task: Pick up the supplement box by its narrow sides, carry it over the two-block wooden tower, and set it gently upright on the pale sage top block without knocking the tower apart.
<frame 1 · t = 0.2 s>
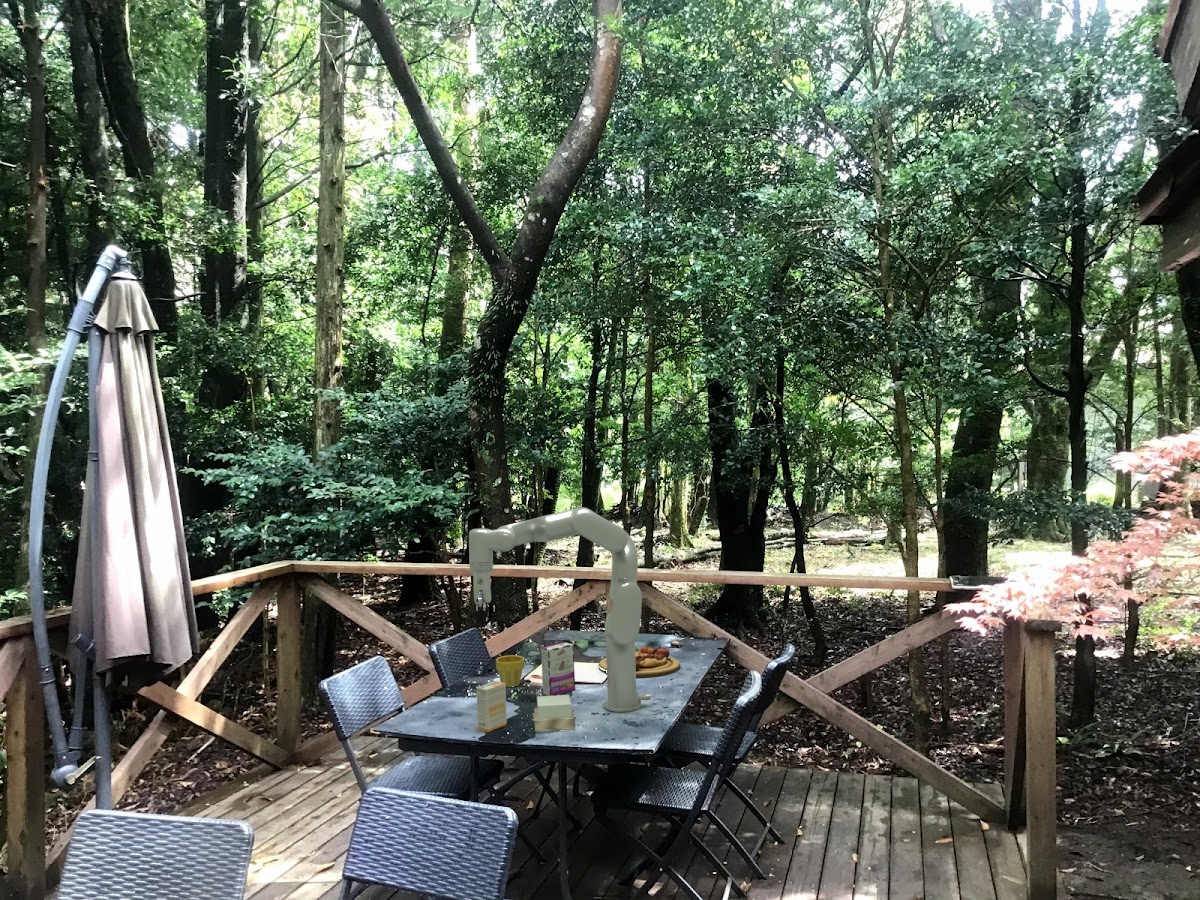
hand: (482, 620, 250), 31 cm above the table, tool pointing down, fingers open, 9 cm apart
supplement box: (492, 728, 238), on the table
wooden plate with food: (639, 668, 304), on the table
plant pot: (510, 686, 283), on the table
tower base block: (554, 726, 239), on the table, touching tower top block
candy bar box: (558, 693, 273), on the table
tower top block: (554, 713, 239), point 4 cm above the table, touching tower base block
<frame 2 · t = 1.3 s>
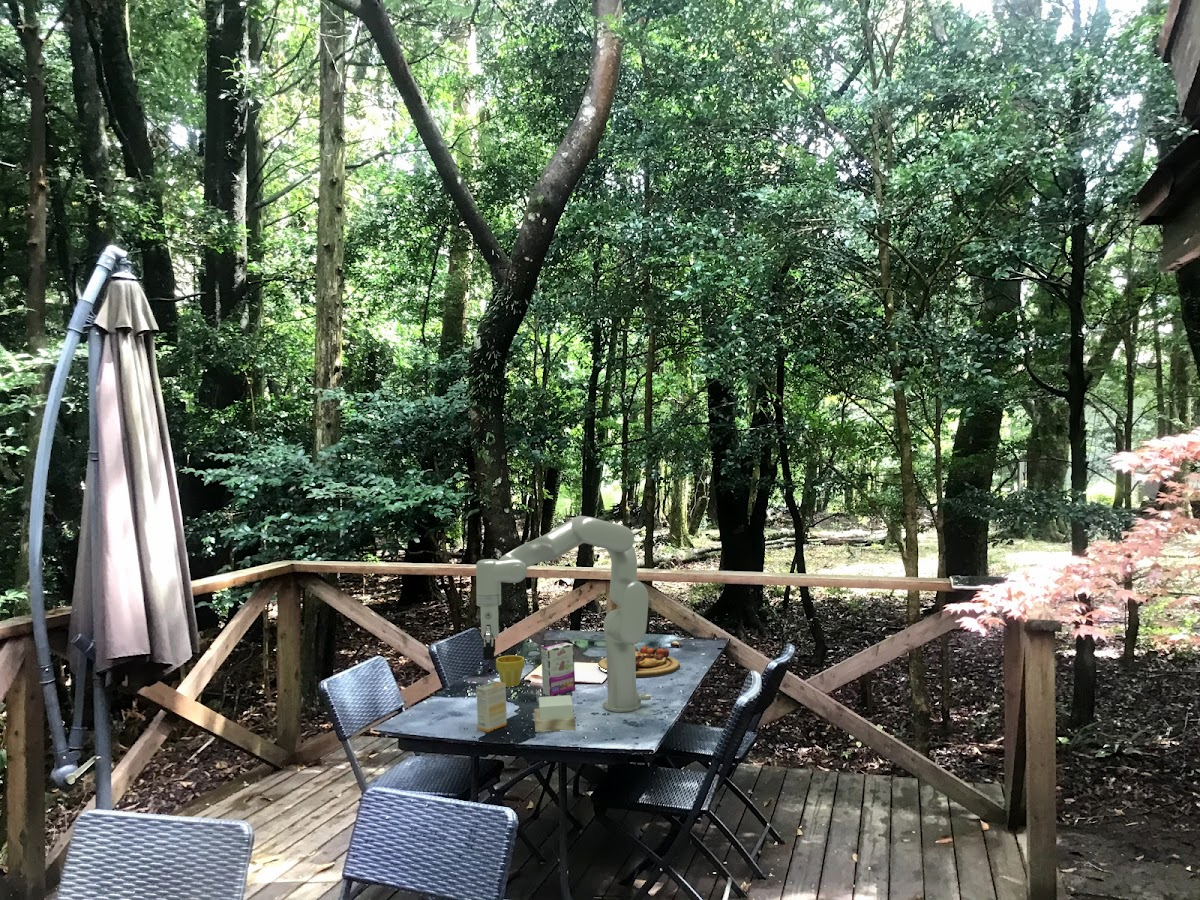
hand: (489, 655, 238), 22 cm above the table, tool pointing down, fingers open, 9 cm apart
tower base block: (554, 726, 239), on the table
tower top block: (555, 713, 239), point 3 cm above the table
everything else where it was.
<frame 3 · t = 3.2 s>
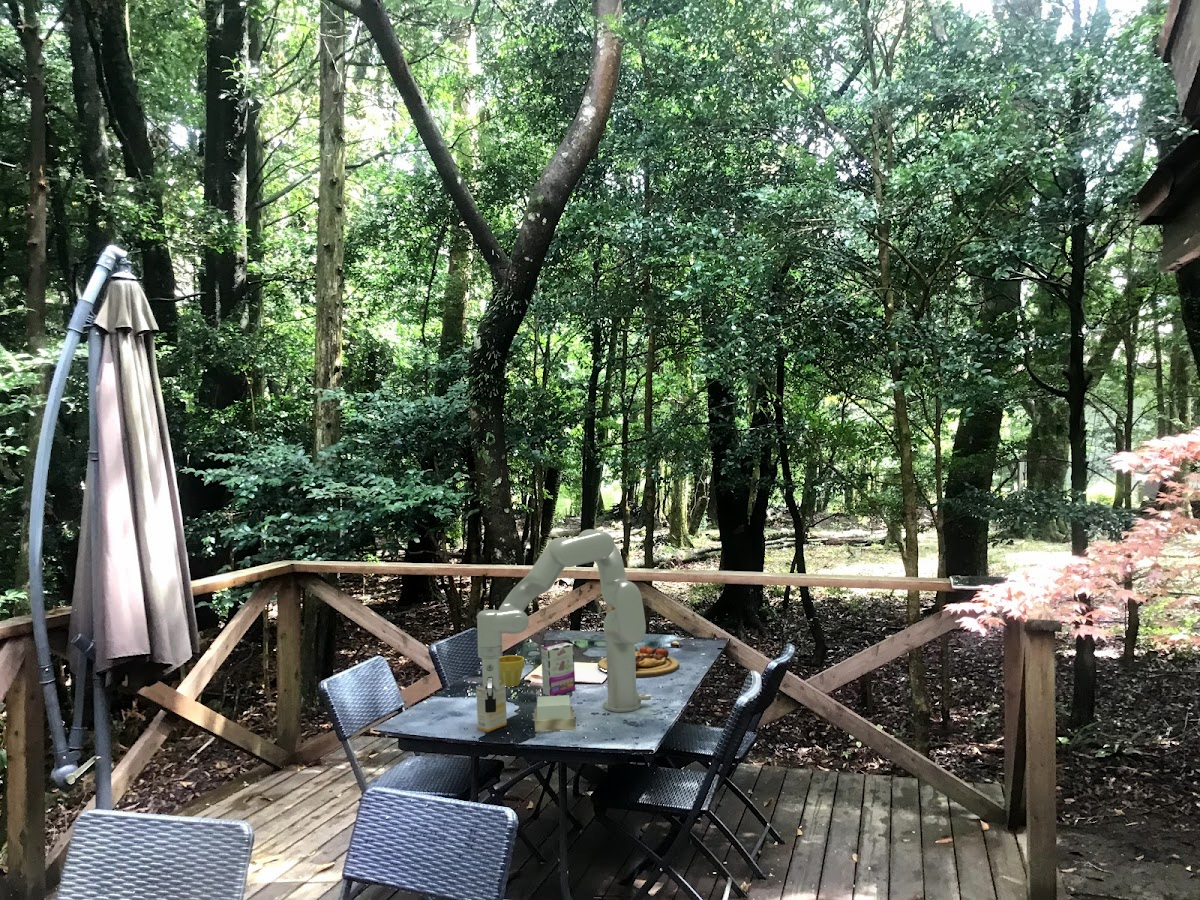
hand: (491, 707, 238), 6 cm above the table, tool pointing down, fingers closed on supplement box, 9 cm apart
supplement box: (492, 728, 238), on the table, touching gripper
tower base block: (554, 726, 239), on the table, touching tower top block
tower top block: (553, 713, 239), point 3 cm above the table, touching tower base block
everything else where it was.
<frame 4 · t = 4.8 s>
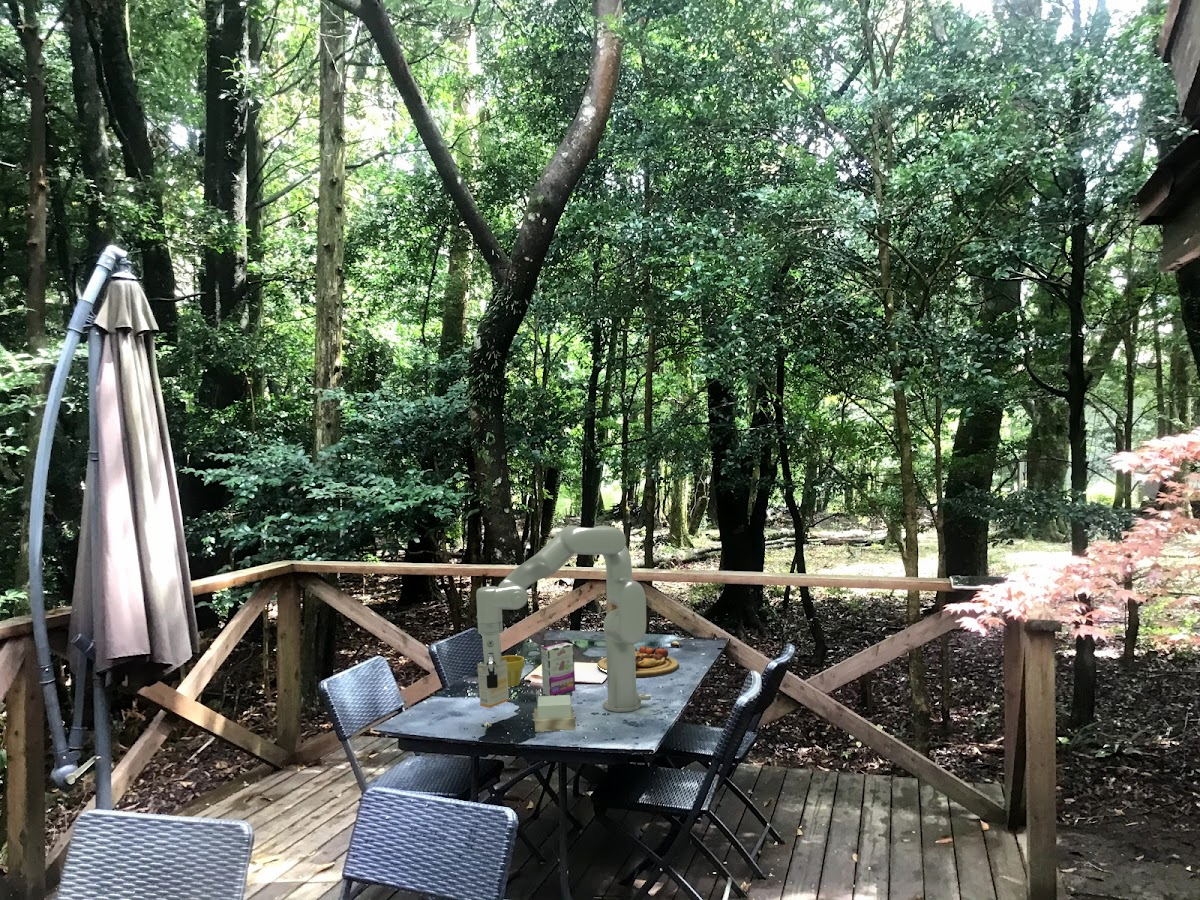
hand: (493, 683, 239), 13 cm above the table, tool pointing down, fingers closed on supplement box, 9 cm apart
supplement box: (494, 704, 239), point 7 cm above the table, touching gripper
everything else where it was.
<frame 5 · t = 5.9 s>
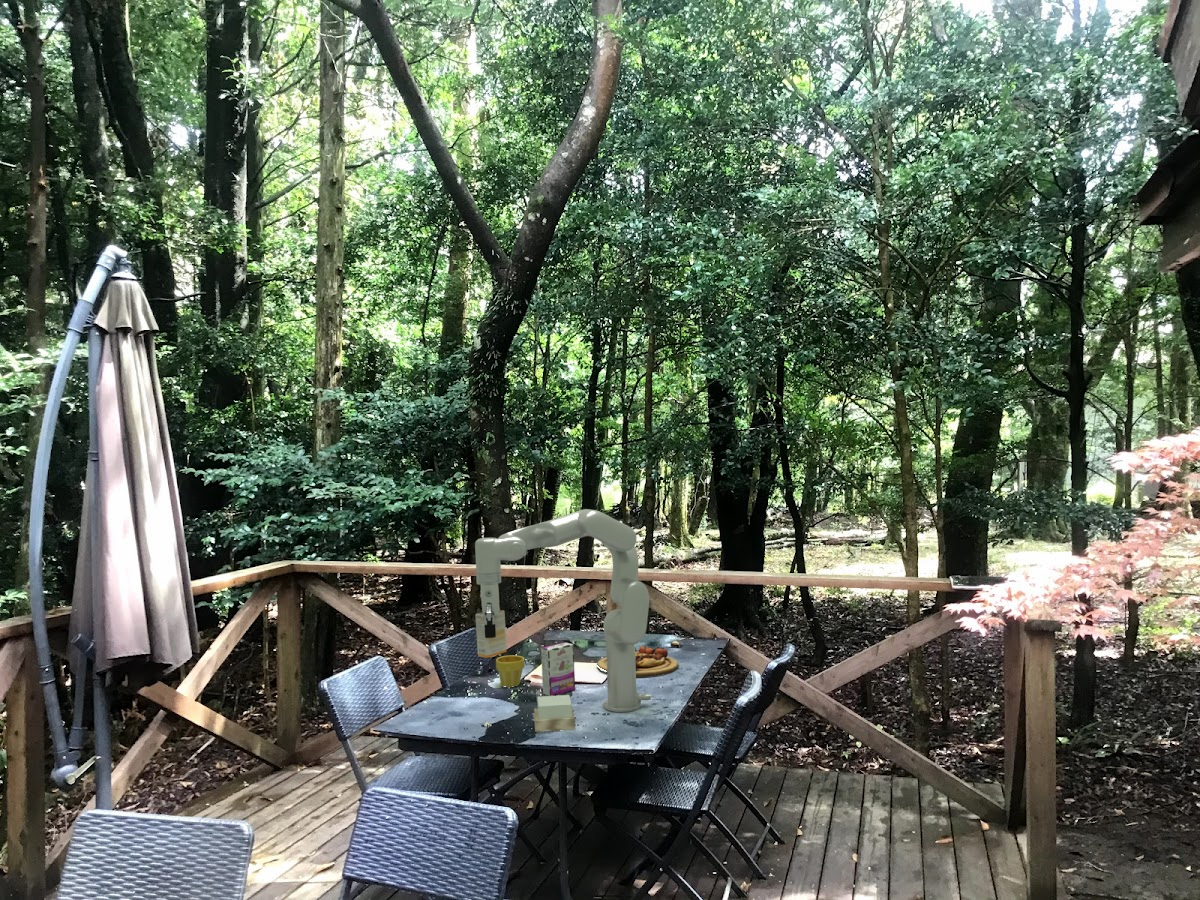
hand: (491, 634, 239), 29 cm above the table, tool pointing down, fingers closed on supplement box, 9 cm apart
supplement box: (492, 655, 239), point 22 cm above the table, touching gripper
everything else where it was.
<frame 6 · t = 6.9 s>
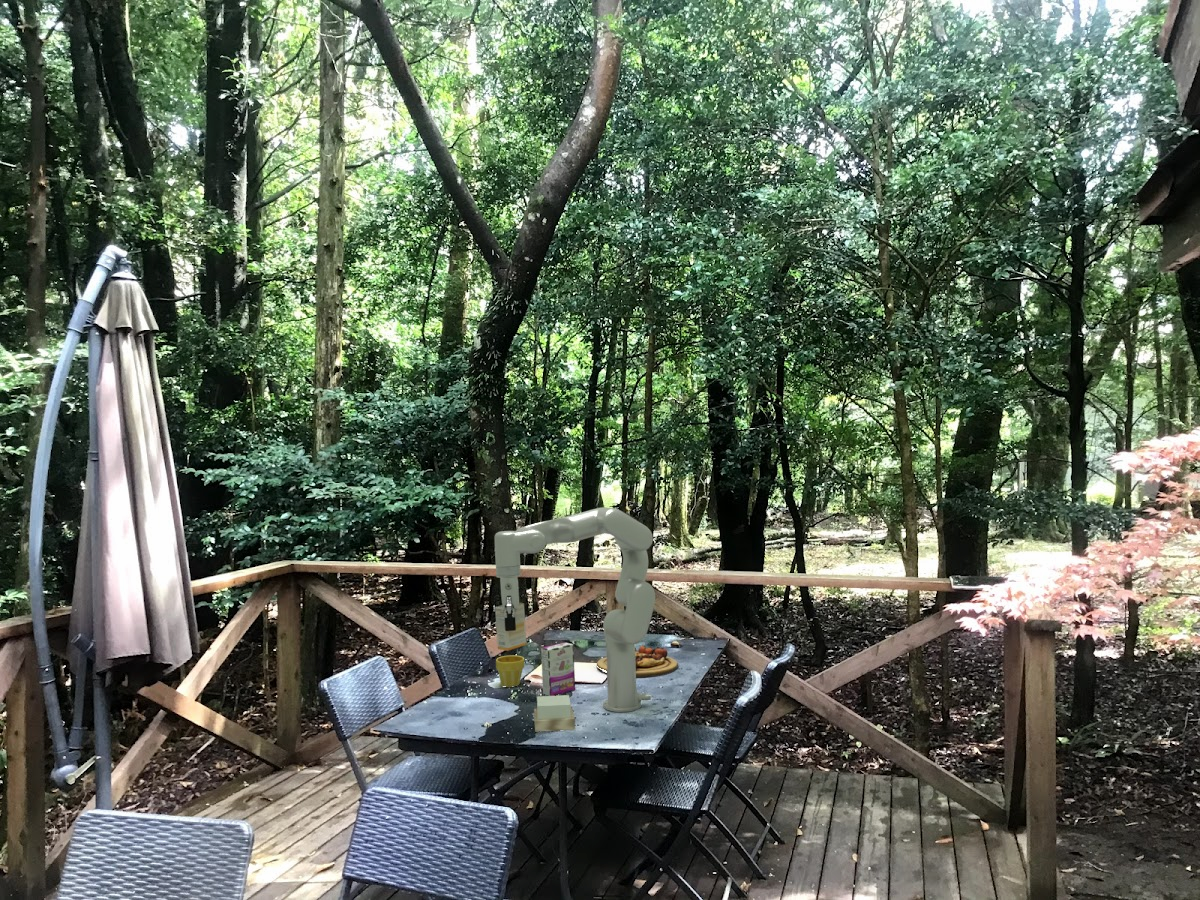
hand: (510, 627, 239), 30 cm above the table, tool pointing down, fingers closed on supplement box, 9 cm apart
supplement box: (511, 647, 239), point 24 cm above the table, touching gripper
everything else where it was.
when the fingers open (15 cm above the table, at t = 11.3 s): supplement box drops 1 cm, point 7 cm above the table.
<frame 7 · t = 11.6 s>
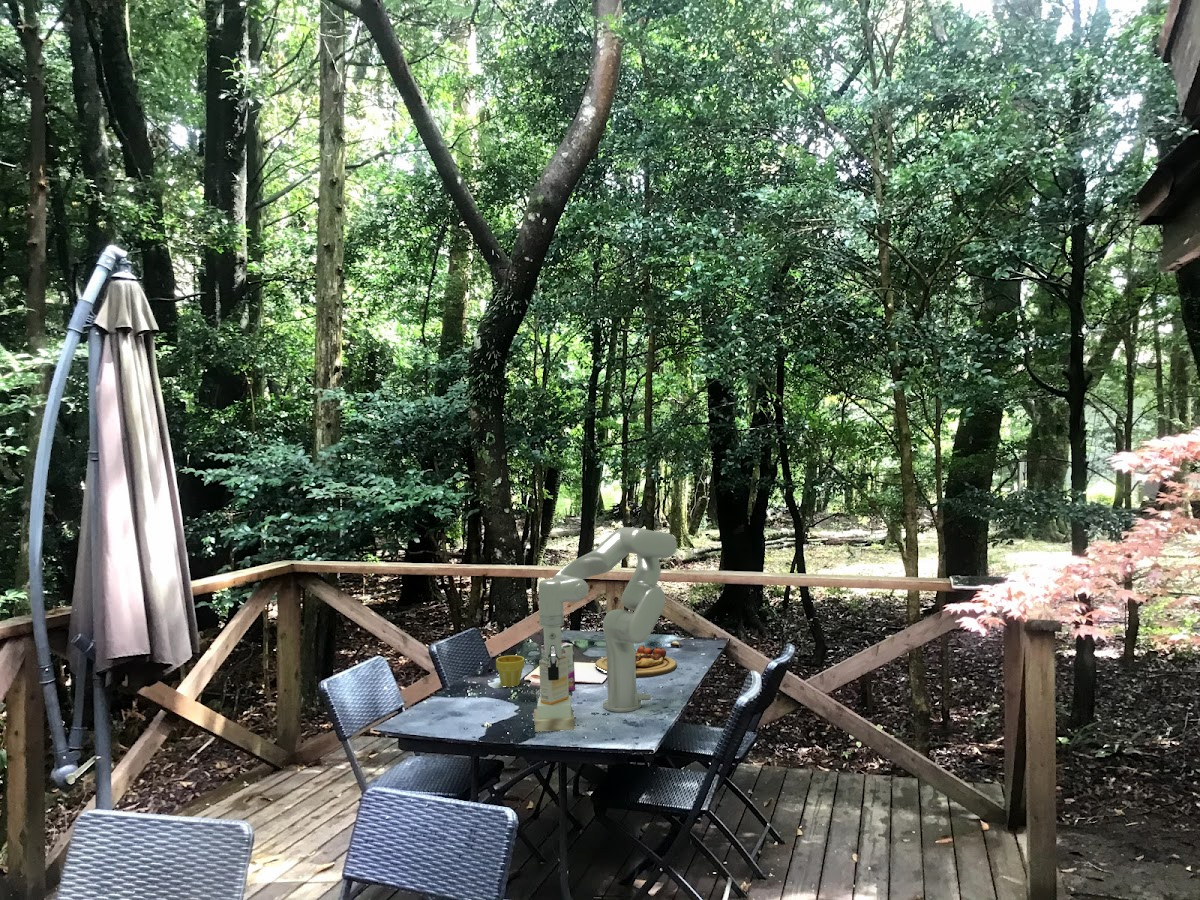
hand: (552, 675, 239), 15 cm above the table, tool pointing down, fingers open, 9 cm apart
supplement box: (554, 701, 239), point 7 cm above the table, touching gripper
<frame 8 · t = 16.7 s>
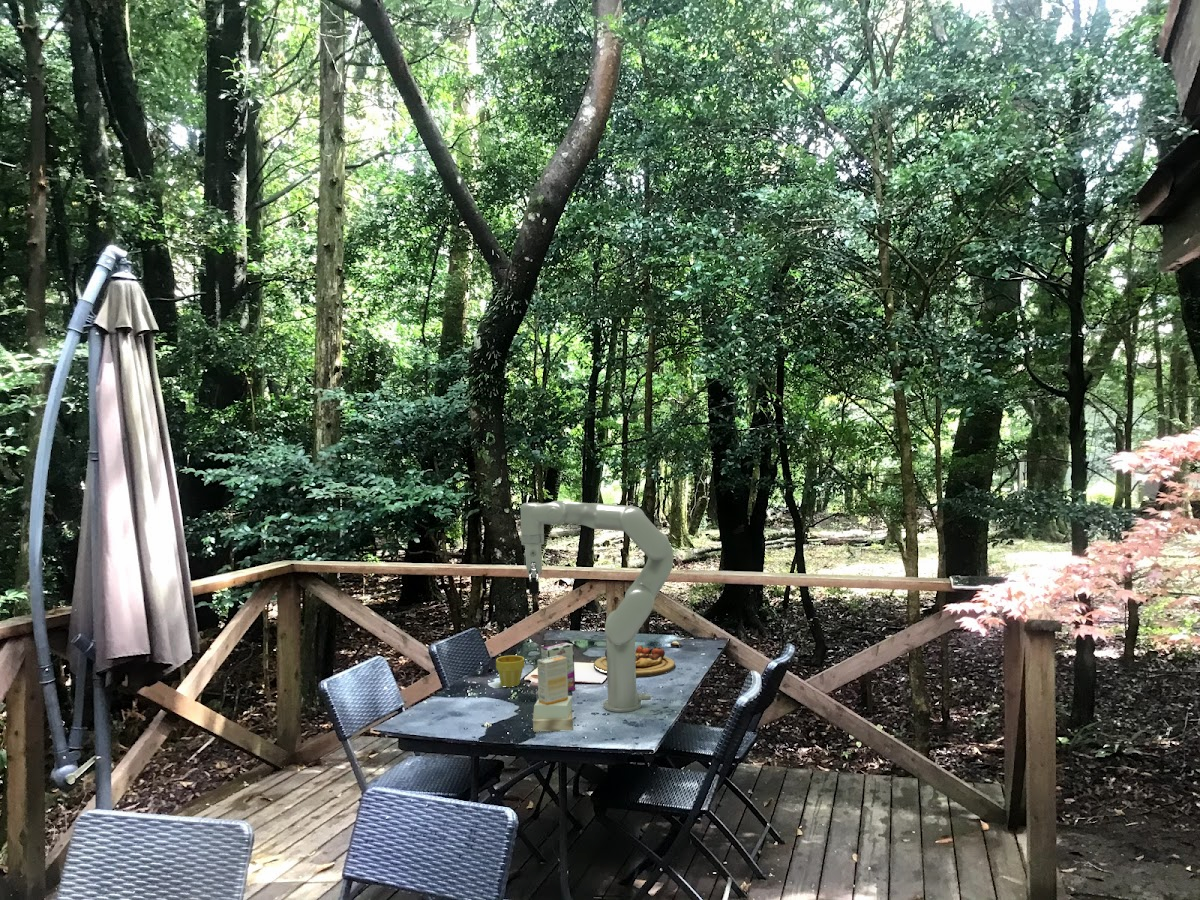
hand: (533, 591, 257), 38 cm above the table, tool pointing down, fingers open, 9 cm apart
supplement box: (553, 701, 239), point 7 cm above the table, touching tower top block
tower top block: (553, 713, 239), point 3 cm above the table, touching supplement box, tower base block
at the end: supplement box inside the target area on the tower top block (0.4 cm from its centre), point 3.8 cm above the tower top block's base; supplement box tilted 0°; tower top block 0.4 cm off-centre on the tower base block, point 4.0 cm above the tower base block's base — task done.
